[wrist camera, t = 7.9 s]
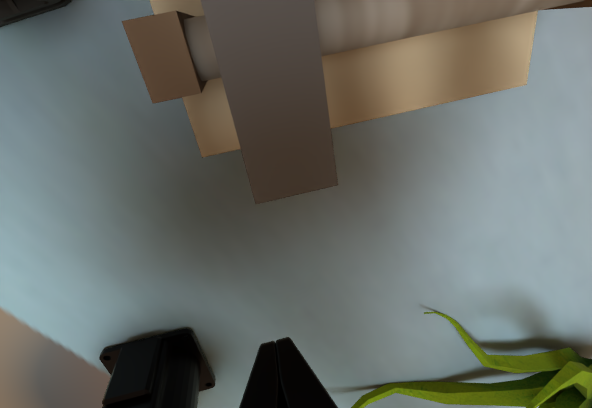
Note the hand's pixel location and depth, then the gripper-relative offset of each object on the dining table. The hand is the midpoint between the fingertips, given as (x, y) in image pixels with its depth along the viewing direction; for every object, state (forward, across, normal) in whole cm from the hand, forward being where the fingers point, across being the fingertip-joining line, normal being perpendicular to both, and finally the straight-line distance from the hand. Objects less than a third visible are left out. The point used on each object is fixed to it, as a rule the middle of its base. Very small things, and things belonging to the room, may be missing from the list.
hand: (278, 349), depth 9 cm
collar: (+9, -2, -8) cm, 12 cm away
